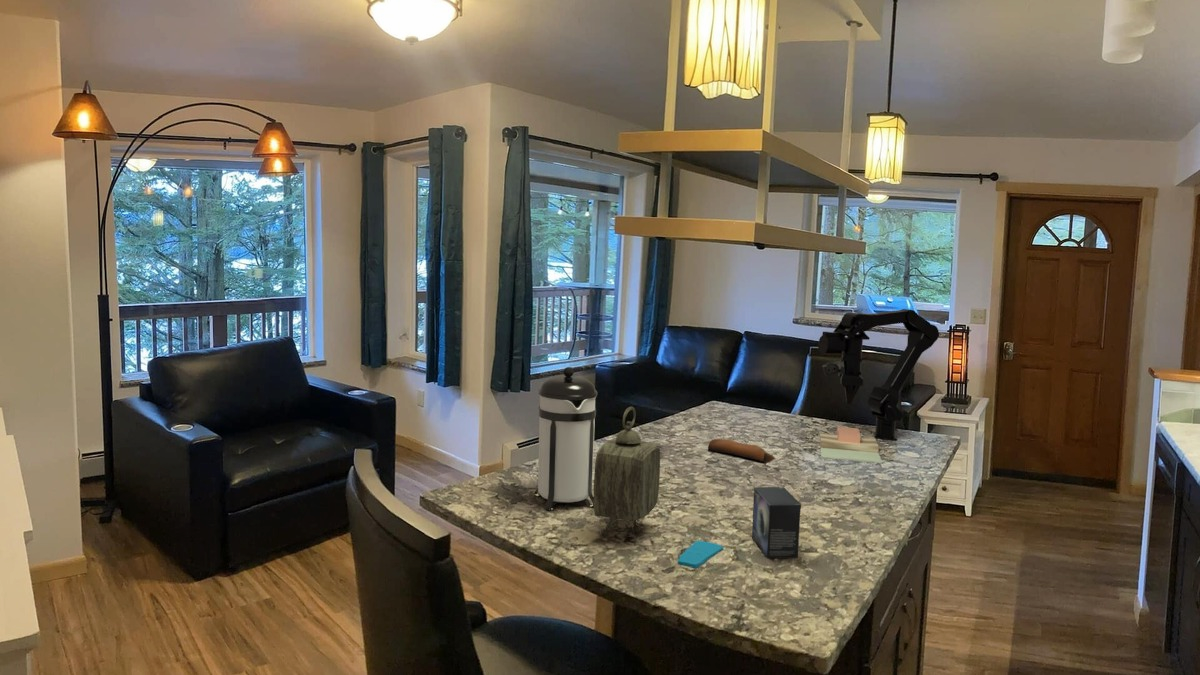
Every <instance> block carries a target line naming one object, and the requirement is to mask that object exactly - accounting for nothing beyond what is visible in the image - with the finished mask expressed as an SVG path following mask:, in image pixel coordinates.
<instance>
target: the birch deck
mask: <svg viewBox="0 0 1200 675" xmlns="http://www.w3.org/2000/svg"><path fill="white" fill-rule="evenodd" d="M819 447H820V450H821V448H829V449H840V450H851V451H862V452H873V453H879V449H880V447H879V445H878V442H877V438H875V437H869V436H860V443H849V442H838V437H837V433H836V434H834V433H823V432H820V433H819Z"/></svg>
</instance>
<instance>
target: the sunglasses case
mask: <svg viewBox="0 0 1200 675" xmlns="http://www.w3.org/2000/svg"><path fill="white" fill-rule="evenodd" d="M707 450H708V452H718V453H724V454H726V453H728V454H730V455H733V456H739V457H744V458H746V459H752V460H755V461H760V462H763V464H767V463H769V462H771V461H773V460H775V459H776V460H777V458H776V457H775V456H774V455H772V454H771V453H768V452H766V450H765V449H764V448H762V447H761V446H759V445H756V444H750V443H749V444H748V443H745V442H744V443H742V442H738V441H735V440H733V439H732V440H731V439H725V438H715V439H712V440H710V441H709V444H708V445H707Z"/></svg>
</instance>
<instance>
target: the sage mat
mask: <svg viewBox="0 0 1200 675" xmlns="http://www.w3.org/2000/svg"><path fill="white" fill-rule="evenodd" d="M820 457H821V458H822V459H823V458H824V459H834V460H844V461H845V460H846V461H854V462H864V463H865V462H866V463H874V464H875V463H876V464H882V463H883V460H882V458H881V456H880V454H879V452H878V453H873V452H862V451H851V450H840V449H829V448H821V449H820Z"/></svg>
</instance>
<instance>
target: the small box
mask: <svg viewBox="0 0 1200 675" xmlns="http://www.w3.org/2000/svg"><path fill="white" fill-rule="evenodd" d="M801 508H802V504H801V503H800V502H799V501H798V500H797V499H796V498H795V496H793V495H792V494H791V493H790V492H789V490H787V489H786V488H785V487H784V486H761V487H758V486H757V487H754V488H753V507H752V528H751V529H752V530H751V537H752V539H753V541H754V542H755V543H756V545H757V546H758V547H759V549H760V550H761V552H762V553H763V554H764V556H765V557H766V559H798V558H799V547H800V546H799V545H800V543H799V542H800V526H801V525H800V524H801V522H800V520H801V512H802V511H801Z"/></svg>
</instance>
